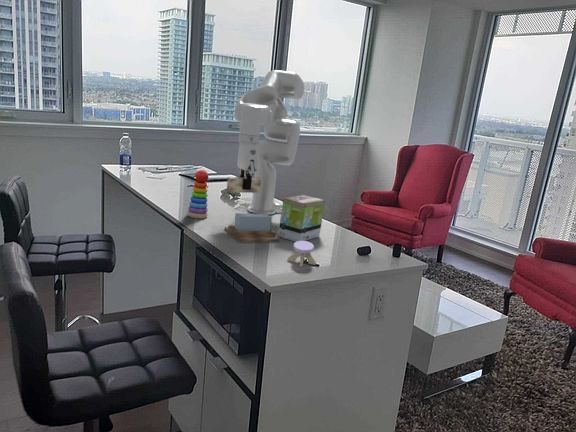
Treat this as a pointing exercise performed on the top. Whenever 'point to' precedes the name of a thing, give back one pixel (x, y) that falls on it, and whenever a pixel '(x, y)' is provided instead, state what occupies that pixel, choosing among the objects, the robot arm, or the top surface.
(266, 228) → the light blue rectangular block
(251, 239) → the cradle jig
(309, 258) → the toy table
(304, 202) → the tea box
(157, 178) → the top surface
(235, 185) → the beige rectangular block
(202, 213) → the stacking toy
